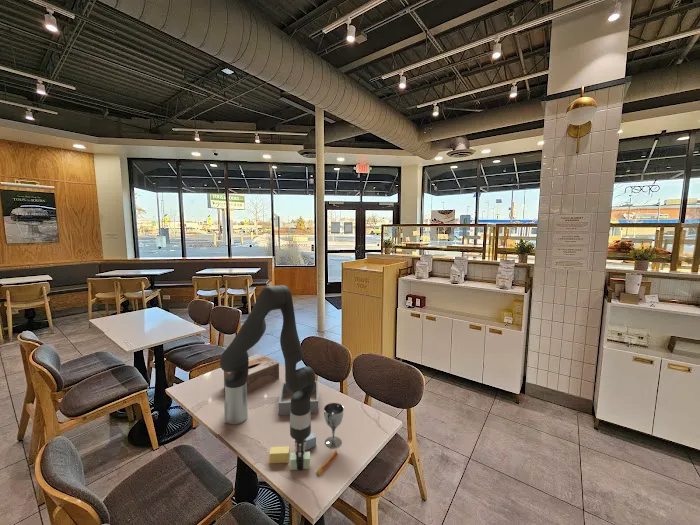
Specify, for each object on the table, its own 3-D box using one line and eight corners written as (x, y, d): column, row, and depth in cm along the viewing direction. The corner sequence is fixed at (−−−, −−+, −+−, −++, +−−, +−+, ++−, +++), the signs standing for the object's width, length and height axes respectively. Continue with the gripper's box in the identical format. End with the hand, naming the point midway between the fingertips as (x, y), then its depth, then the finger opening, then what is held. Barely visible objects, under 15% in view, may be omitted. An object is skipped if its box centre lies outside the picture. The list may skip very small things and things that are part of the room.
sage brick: (290, 469, 110) (290, 459, 110) (290, 462, 113) (291, 452, 113) (309, 468, 111) (309, 458, 110) (309, 461, 114) (309, 451, 114)
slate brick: (299, 452, 119) (299, 443, 119) (296, 446, 122) (296, 437, 122) (316, 446, 123) (316, 437, 122) (312, 440, 126) (312, 431, 125)
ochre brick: (269, 463, 113) (269, 453, 113) (271, 456, 117) (271, 446, 116) (288, 462, 114) (288, 453, 113) (289, 455, 117) (289, 446, 117)
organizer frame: (278, 415, 142) (278, 403, 141) (282, 393, 160) (282, 382, 160) (318, 412, 144) (318, 400, 144) (317, 391, 163) (317, 381, 162)
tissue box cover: (238, 397, 156) (237, 379, 155) (224, 387, 165) (223, 370, 164) (279, 379, 176) (279, 362, 175) (264, 371, 185) (264, 355, 184)
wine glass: (323, 436, 128) (324, 403, 126) (342, 435, 129) (343, 402, 127) (323, 449, 120) (324, 414, 119) (343, 448, 121) (344, 414, 119)
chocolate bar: (315, 474, 109) (315, 468, 109) (333, 453, 119) (333, 448, 119) (320, 477, 108) (320, 471, 107) (338, 455, 118) (338, 450, 118)
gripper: (291, 410, 117) (291, 451, 119) (288, 435, 103) (288, 481, 105) (310, 409, 118) (310, 450, 120) (310, 434, 104) (310, 479, 106)
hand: (300, 464), depth 112 cm, fingers closed on sage brick, 3 cm apart
